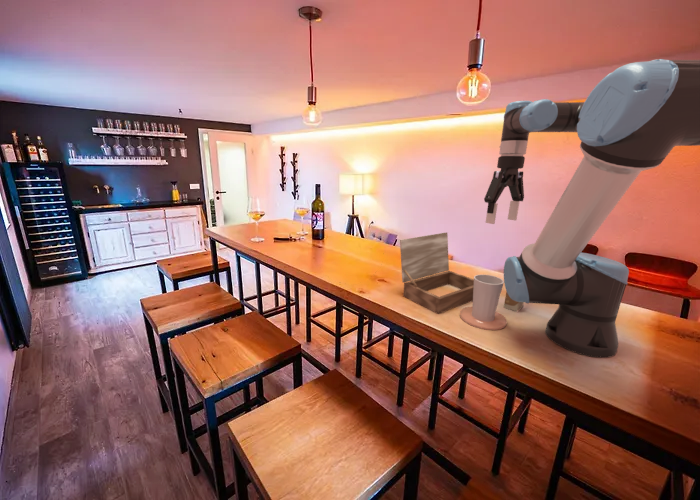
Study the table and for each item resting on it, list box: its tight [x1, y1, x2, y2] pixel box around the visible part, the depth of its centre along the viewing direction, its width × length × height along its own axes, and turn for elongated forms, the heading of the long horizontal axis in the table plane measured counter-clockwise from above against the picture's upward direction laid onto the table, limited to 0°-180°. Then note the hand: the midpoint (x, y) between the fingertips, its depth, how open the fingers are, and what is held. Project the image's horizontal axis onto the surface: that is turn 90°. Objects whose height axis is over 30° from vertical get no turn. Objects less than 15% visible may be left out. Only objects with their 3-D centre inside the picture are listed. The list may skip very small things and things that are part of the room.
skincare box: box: [503, 291, 525, 313], centre depth 95 cm, size 6×4×12 cm
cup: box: [471, 273, 505, 322], centre depth 87 cm, size 8×8×12 cm
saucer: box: [459, 306, 508, 331], centre depth 89 cm, size 13×13×1 cm
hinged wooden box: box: [399, 232, 474, 315], centre depth 103 cm, size 19×24×20 cm
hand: (501, 221), depth 99 cm, fingers open, 13 cm apart
